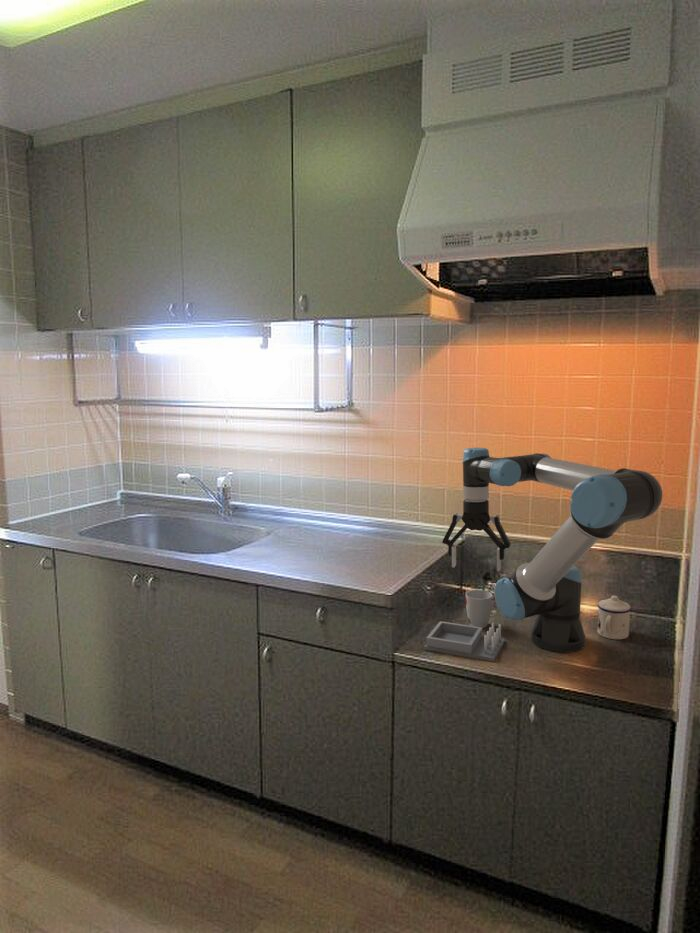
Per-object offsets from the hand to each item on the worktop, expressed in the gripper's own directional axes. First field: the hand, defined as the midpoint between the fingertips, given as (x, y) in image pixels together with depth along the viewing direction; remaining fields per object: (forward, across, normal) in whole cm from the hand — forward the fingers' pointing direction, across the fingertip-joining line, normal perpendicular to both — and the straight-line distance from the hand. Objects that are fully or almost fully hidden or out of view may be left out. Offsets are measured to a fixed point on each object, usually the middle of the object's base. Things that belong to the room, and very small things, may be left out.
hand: (476, 568), depth 200 cm
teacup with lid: (+19, -39, -6) cm, 44 cm away
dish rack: (+19, 0, +15) cm, 24 cm away
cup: (+19, 0, -1) cm, 19 cm away
